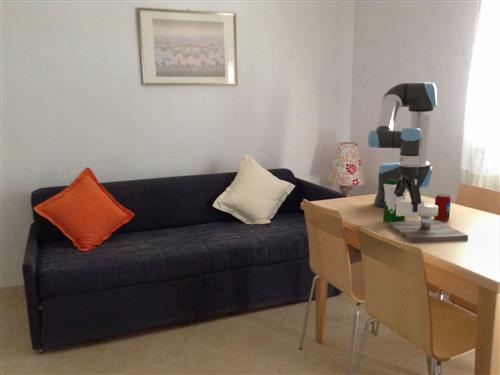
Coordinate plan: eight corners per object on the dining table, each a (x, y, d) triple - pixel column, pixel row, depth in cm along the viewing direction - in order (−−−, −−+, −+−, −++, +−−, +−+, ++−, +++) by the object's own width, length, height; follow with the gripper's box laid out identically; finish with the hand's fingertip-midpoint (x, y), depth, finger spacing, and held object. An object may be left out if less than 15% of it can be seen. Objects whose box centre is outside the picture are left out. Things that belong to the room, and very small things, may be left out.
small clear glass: (418, 227, 191) (419, 213, 189) (427, 226, 191) (428, 213, 190) (423, 229, 187) (424, 216, 185) (432, 229, 187) (433, 215, 186)
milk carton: (393, 218, 212) (395, 177, 208) (408, 223, 204) (410, 180, 200) (379, 221, 208) (381, 179, 204) (394, 225, 200) (396, 182, 196)
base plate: (386, 226, 200) (387, 221, 199) (437, 224, 202) (437, 219, 202) (411, 242, 176) (411, 237, 176) (467, 240, 179) (468, 235, 178)
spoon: (430, 210, 192) (431, 197, 191) (441, 216, 184) (443, 202, 182) (392, 212, 190) (393, 199, 189) (402, 218, 182) (402, 203, 180)
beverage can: (450, 221, 206) (452, 196, 203) (435, 221, 207) (437, 196, 205) (447, 218, 212) (449, 193, 210) (432, 217, 213) (434, 193, 211)
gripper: (387, 161, 194) (385, 208, 198) (414, 170, 170) (411, 223, 174) (404, 161, 195) (401, 207, 199) (432, 169, 171) (429, 222, 175)
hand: (406, 215), depth 187 cm, fingers open, 13 cm apart
